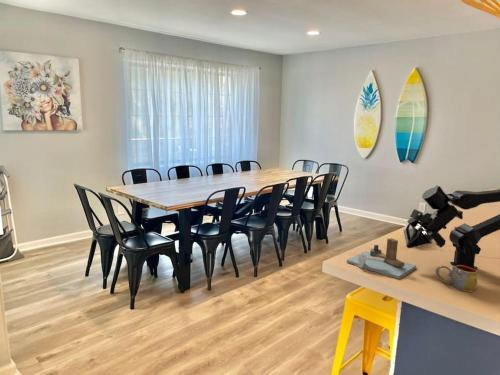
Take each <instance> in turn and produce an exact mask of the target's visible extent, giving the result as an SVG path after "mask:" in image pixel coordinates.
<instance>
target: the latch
mask: <svg viewBox="0 0 500 375" xmlns="http://www.w3.org/2000/svg"><path fill="white" fill-rule="evenodd" d="M398 243H399V242H398V240H397V239H394V238H387V240H386V248H385V249H386V250H385V251H386V252H385V253H383V252H382V250H381V249H379V244H373V248H370V251H369V252H370V255H371V256H373V257H379V258H385V260H384V261H386V262H388V263H390V264H392V265H394V266H397V267H404V262H405V261H402V260H400V259H397V253H398Z"/></svg>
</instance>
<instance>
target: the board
mask: <svg viewBox="0 0 500 375" xmlns="http://www.w3.org/2000/svg"><path fill="white" fill-rule="evenodd" d="M360 254H364V255H366V256H371V255H370V251H367V250H365V251H363V252H361V253H358V254H356V255H354V256H352V257H350V258H348V259H346V263H347V264H350V265H354V266H356V267H358V257H359V255H360ZM372 257H373V256H372ZM403 262H404V267H397V266H394V265H392V264H390V263H388V262H386V261H384V262H378V261H372V260H366V264H365V265H364V268H363V269H365V268H366V270H369V271H372V272H376V273H378V274H381V275H384V276H388V277H390V278H393V279H397V280H400V279H401V278H403V277H404V276H406V275H407V274H409V273H411V272H412V271H414V270H415V269H416V268H417V265H416V264H412V263H409V262H406V261H403Z"/></svg>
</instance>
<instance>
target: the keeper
mask: <svg viewBox="0 0 500 375" xmlns="http://www.w3.org/2000/svg"><path fill="white" fill-rule="evenodd" d="M359 254H360V253H359ZM366 260H372V261H378V262H384V260H385V258H379V257H372V256H366V255H364V254H360V255H359V257H358V266H357V267H358V268H360V269H365V268H364V265H365V264H366Z"/></svg>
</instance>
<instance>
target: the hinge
mask: <svg viewBox="0 0 500 375" xmlns="http://www.w3.org/2000/svg"><path fill="white" fill-rule="evenodd" d="M412 235H413V227H412V226H411V225H410V224H409V223H408V222H407V224H405V225H404V227H403V236H404V240H405V245H407V244H408V242H409V240H410V238H411V237H412ZM421 246H423V245H420V246H416V248H418V249H419V248H420V247H421Z"/></svg>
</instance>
